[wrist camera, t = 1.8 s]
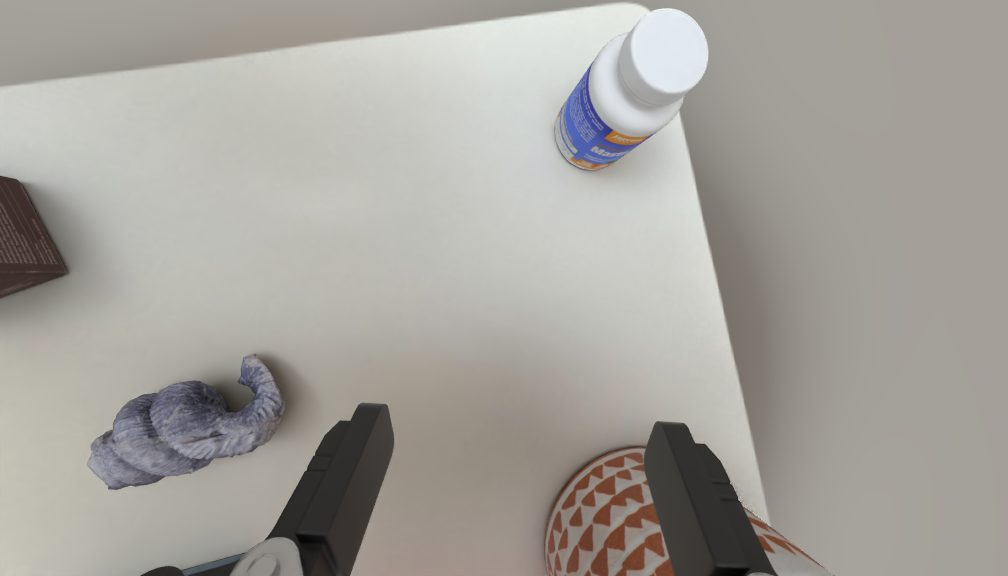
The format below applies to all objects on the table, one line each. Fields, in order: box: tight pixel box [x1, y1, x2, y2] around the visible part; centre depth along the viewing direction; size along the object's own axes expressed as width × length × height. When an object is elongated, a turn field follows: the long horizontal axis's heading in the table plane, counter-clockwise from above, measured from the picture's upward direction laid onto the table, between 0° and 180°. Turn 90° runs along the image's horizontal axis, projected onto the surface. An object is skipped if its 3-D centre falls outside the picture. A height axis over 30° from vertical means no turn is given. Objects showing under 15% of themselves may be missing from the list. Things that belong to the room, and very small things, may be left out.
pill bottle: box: [555, 8, 708, 170], centre depth 22 cm, size 5×5×10 cm
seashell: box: [87, 354, 285, 490], centre depth 21 cm, size 5×5×10 cm
